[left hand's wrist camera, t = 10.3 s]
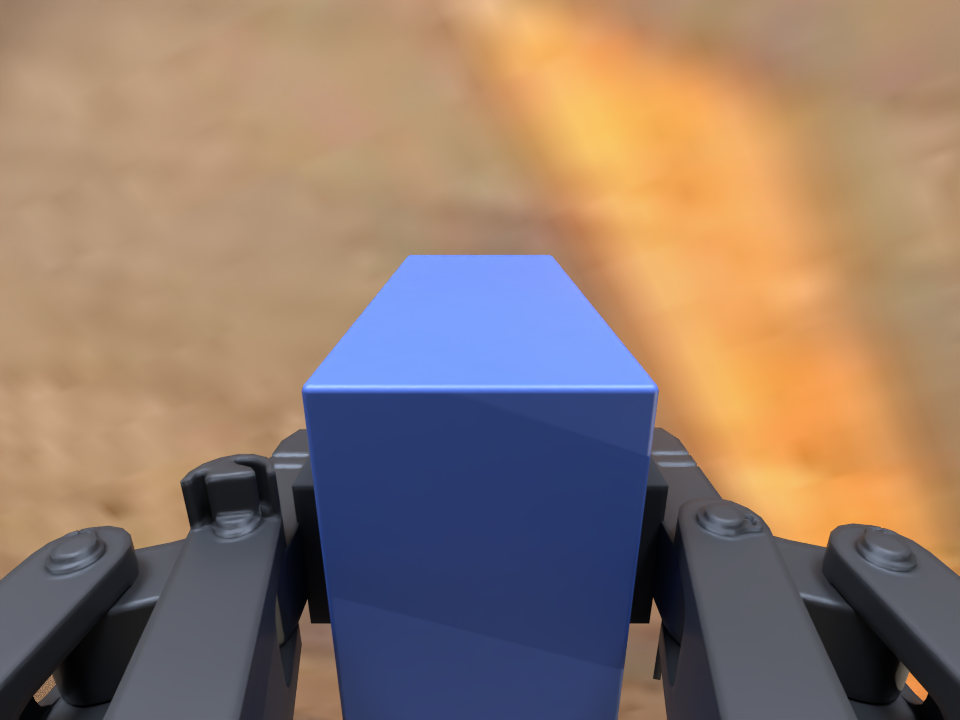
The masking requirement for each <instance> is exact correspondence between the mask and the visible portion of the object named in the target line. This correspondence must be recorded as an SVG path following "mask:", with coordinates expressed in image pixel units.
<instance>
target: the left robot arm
mask: <svg viewBox="0 0 960 720" xmlns="http://www.w3.org/2000/svg"><path fill="white" fill-rule="evenodd" d="M180 483H181V487H182V492H183V496H184V501H185V505H186V509H187V514H188V518H189V523H190V527H191V529H190V531H189V534H188V536H187V538H186V539H183V540H179V541H175V542H171V543H166V544H161V545H156V546H151V547H146V548H141V549H136V550H134V546H133V542H132V539H131V535H130V534H129V533H128V532H127V531H125V530H124V529H123V528H118V527H112V526H103V527H92V528H86V529H81V530H80V531H78V530H77V531H74V532H71V533H68V534H66V535H65V536H63V537H61V538H58V539H56V540H54V541H52V542H50V543H48V544H46V545H45V546H43V547H42V548H40V549H39V550H37V551H36V552H34V553H33V554H31V555H30V556H29V557H28V558H27V559H25V560H24V561H23V562H22V563H21V564H19V565H18V566H17V567H16V568H15V569H13V570H12V571H11V572H10V573H9V574H7V575H6V576H5V577H4V578H3V579H1V580H0V720H293V715H294V706H295V697H296V689H297V680H298V671H299V663H300V654H301V645H302V643H301V636H300V630H299V623H298V622H299V619H300V617H301V614H302V612H303V609H304V607H305V604H306V602H307V599H308V605H309V612H310V619H311V623H331V620H330V612H329V604H328V596H327V588H326V580H325V572H324V564H323V556H322V548H321V540H320V532H319V524H318V516H317V508H316V500H315V492H314V484H313V476H312V468H311V460H310V452H309V444H308V436H307V429H300V430H298V431H297V432H295V433H293V434H292V435H290V436H289V437H287V438H286V439H284V440H283V441H281V443H280V444H279V446H278V447H277V448H276V450H275V451H274V453H273V454H272V457H270V458H269V459H268V458H267V457H263V456H259V455H255V454H237V455H232V456H227V457H221V458H218V459H215V460H212V461H210V462H207V463H204V464H202V465H200V466H199V467H197V468H195V469H194V470H192V471H190V472H189V473H188V474H187V475H186V476H185V477H184V478H183V479H182V480H181V481H180ZM653 598H654V601H655V603H656V606H657V608H658V611H659V613H660V616H661V618H662V623H661V630H660V636H659V643H658V649H657V656H656V662H655V669H654V676H653V679H658V680H660V678H661V673H662V679H663V687H664V696H665V705H666V713H667V720H960V576H958V575H957V574H956V573H955V572H953V571H952V570H951V569H950V568H949V567H947V566H946V565H945V564H944V563H943V562H941V561H940V560H939V559H938V558H937V557H935V556H934V555H933V554H932V553H931V552H929V551H928V550H926V549H925V548H923V547H922V546H920V545H919V544H917V543H916V542H914V541H913V540H910V539H908V538H906V537H904V536H902V535H899V534H897V533H896V532H894V531H891V530H888V529H885V528H883V529H882V528H881V527H877V526H872V525H862V524H847V525H841V526H838V527H837V528H835V529H834V530H833V531H832V532H831V533H830V537H829V540H828V544H827V548H826V547H821V546H816V545H811V544H806V543H801V542H796V541H791V540H787V539H783V538H779V537H775V536H773V535H772V533H771V530H770V528H769V527H768V526H767V524H766V523H765V522H764V520H763V519H762V518H761V517H760V516H758V515H757V514H756V513H754V512H753V511H751V510H750V509H748V508H746V507H744V506H742V505H739V504H737V503H735V502H732V501H728V500H723V499H722V498H721V496H720V495H719V494H718V492H717V491H716V490H715V488H714V487H713V485H712V484H711V483H710V481H709V480H708V479H707V477H706V476H705V475H704V473H703V472H702V470H701V469H700V468H699V467H697V464H696V462H695V461H694V459H693V458H692V457H691V455H689V454H688V451H687V450H686V448H685V447H684V446H683V444H682V443H681V442H680V440H679V439H678V438H676V437H674V436H673V435H671V434H670V433H668V432H667V431H665V430H664V429H662V428H654V432H653V440H652V448H651V456H650V464H649V472H648V480H647V488H646V496H645V504H644V512H643V520H642V528H641V536H640V544H639V552H638V560H637V568H636V576H635V584H634V592H633V600H632V608H631V616H630V623H649V621H650V614H651V607H652V600H653ZM909 671H910V673H911V674H912V675H913V676H914V677H915V678H916V679H917V681H918V682H919V683H920V684H921V685H922V686H923V687H924V688H925V690H926V691H927V692H928V695H927V698H926V700H925V701H922V700H921V699H920V698H919V697H918V696H917V695H916V694H915V693H914V692H913V691H912V690H911V689H910V687H909V686H908V685H907V684H906V683H905V682H906V679H907V676H908V674H909ZM51 675H53V678H54V680H55V683H56V685H55V686H54V687H53V689H52V690H51V691H50V692H49V693H48V694H47V696H45V697H44V698H43V699H42V700H41V701H40V702H38V703H37V702H36V701H35V699H34V697H33V695H34V694H35V693H36V692H37V691H38V690H39V688H40V687H41V686H42V685H43V684H44V683H45V682H46V680H47V679H48V678H49V677H50V676H51Z"/></svg>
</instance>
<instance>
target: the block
mask: <svg viewBox="0 0 960 720" xmlns="http://www.w3.org/2000/svg"><path fill="white" fill-rule="evenodd" d="M658 392H659V390H658V387H657V385H656V384H655V383H654V381H653V380H652V379H651V378H650V376H649V375H648V374H647V373H646V371H645V370H644V369H643V368H642V367H641V365H640V364H639V363H638V362H637V360H636V359H635V358H634V357H633V355H632V354H631V353H630V352H629V350H628V349H627V348H626V347H625V346H624V344H623V343H622V342H621V341H620V339H619V338H618V337H617V336H616V334H615V333H614V332H613V331H612V329H611V328H610V327H609V326H608V325H607V323H606V322H605V321H604V320H603V318H602V317H601V316H600V315H599V313H598V312H597V311H596V310H595V309H594V307H593V306H592V305H591V304H590V302H589V301H588V300H587V299H586V297H585V296H584V295H583V294H582V292H581V291H580V290H579V289H578V288H577V286H576V285H575V284H574V283H573V281H572V280H571V279H570V278H569V276H568V275H567V274H566V273H565V272H564V270H563V269H562V268H561V267H560V265H559V264H558V263H557V262H556V260H555V259H554V258H553V257H552V256H550V255H410V256H408V257H407V258H406V260H405V261H404V262H403V263H402V264H401V266H400V267H399V268H398V269H397V271H396V272H395V273H394V274H393V276H392V277H391V278H390V279H389V281H388V282H387V283H386V284H385V285H384V287H383V288H382V289H381V290H380V292H379V293H378V294H377V295H376V297H375V298H374V299H373V300H372V302H371V303H370V304H369V305H368V307H367V308H366V309H365V310H364V311H363V313H362V314H361V315H360V316H359V318H358V319H357V320H356V321H355V323H354V324H353V325H352V326H351V328H350V329H349V330H348V331H347V333H346V334H345V335H344V336H343V337H342V339H341V340H340V341H339V342H338V344H337V345H336V346H335V347H334V349H333V350H332V351H331V352H330V354H329V355H328V356H327V357H326V358H325V360H324V361H323V362H322V363H321V365H320V366H319V367H318V368H317V370H316V371H315V372H314V373H313V375H312V376H311V377H310V378H309V380H308V381H307V382H306V383H305V384H304V386H303V389H302V396H303V404H304V412H305V420H306V428H307V436H308V444H309V452H310V460H311V468H312V476H313V484H314V492H315V500H316V508H317V516H318V524H319V532H320V540H321V548H322V556H323V564H324V572H325V580H326V588H327V596H328V604H329V612H330V620H331V628H332V636H333V644H334V652H335V660H336V668H337V676H338V684H339V692H340V700H341V708H342V716H343V720H618V712H619V704H620V696H621V688H622V680H623V672H624V664H625V656H626V648H627V640H628V632H629V624H630V616H631V608H632V600H633V592H634V584H635V576H636V568H637V560H638V552H639V544H640V536H641V528H642V520H643V512H644V504H645V496H646V488H647V480H648V472H649V464H650V456H651V448H652V440H653V432H654V424H655V416H656V408H657V400H658Z"/></svg>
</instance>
